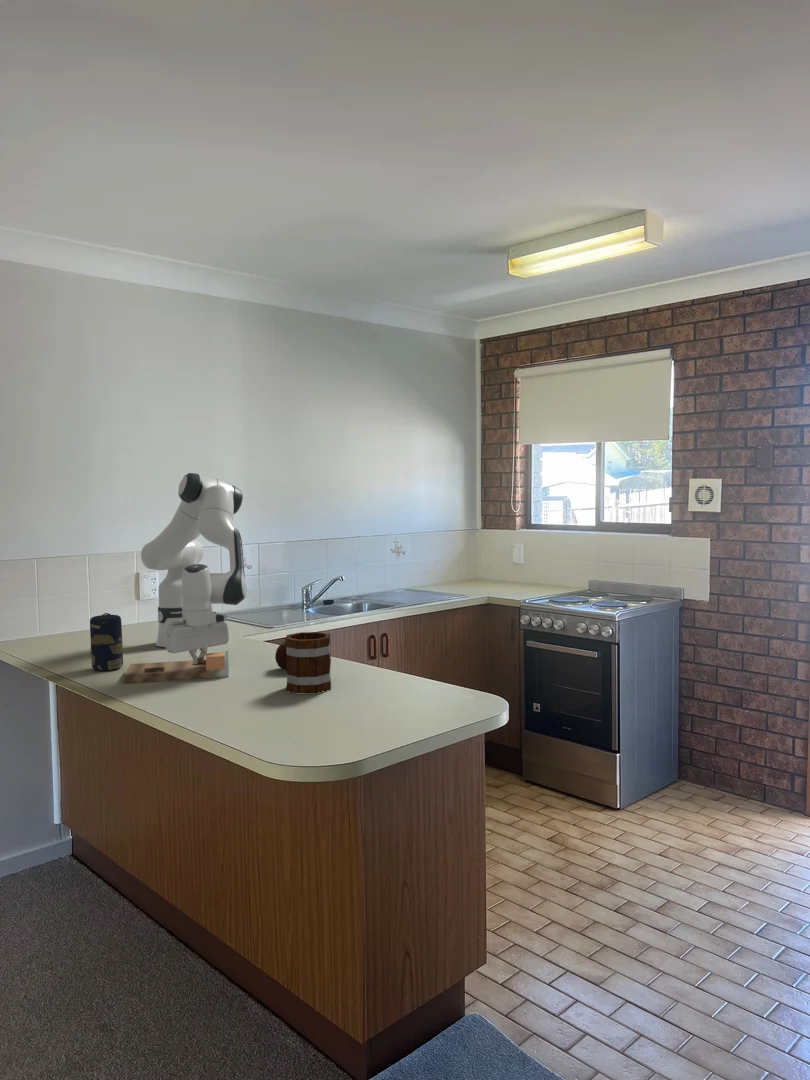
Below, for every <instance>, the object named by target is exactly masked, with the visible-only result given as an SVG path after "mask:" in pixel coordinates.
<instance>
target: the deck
mask: <svg viewBox="0 0 810 1080" xmlns="http://www.w3.org/2000/svg"><path fill="white" fill-rule="evenodd" d="M123 677H124V678H123V679H124V681H123V682H124V684H131V683H132V684H133V683H134V684H135V683H150V682H165V681H168V682H169V681H178V680H179V681H182V680H183V681H184V680H197V679H198V680H199V679H213V678H214V679H217V678H226V677H225V669H217V670H206V659H204V663H198V664H193V659H192V660H179V661H177V660H176V661H160V662H142V663H141V662H140V663H130V664H129V666H128V668H127V669H126V671H125V672H124V675H123Z"/></svg>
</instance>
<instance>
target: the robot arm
mask: <svg viewBox="0 0 810 1080" xmlns="http://www.w3.org/2000/svg"><path fill="white" fill-rule="evenodd" d="M177 493H178V497H179V498H180V500H181V502H180V503H179V506H178V507H177V510H176V511H175V513H174V516H173V517H172V519H171V520H170V522H169V524H168V525H166V527H165V528H164V529H163V530H162V531H161V532H160V533H159V534H158V535H157V536H156V537H155V538H154V539H153V540H151V541H149V542H147V543H146V544H144V546H143V547H142V549H141V550H140V551H141V552H140V559H141V562H142V563H143V566H144V567H146V569H149V570H154V571H166V570H167V574H166V575H165V577H164V579H163V580H162V581H161V582H160V583H159V585H158V606H157V621H158V628H157V629H158V632H157V638H156V642H155V646H156V647H161V648H165V649H166V651H167V652H168V653H170V654H179V653H183V652H189V653H188V654H189V655H190V657H192V660H193V664H198V663H204V660H205V658H206V653H208V648H211V647H218V646H222V645H223V646H224V645H227V644H228V642H229V637H230V635H229V634H230V633H229V626H228V623H227V622H226V621H227V617H228V616H227V615H226V614H223V613H219V612H216V611H213V606H212V605H214V604H215V605H217V604H219V605H220V604H222V605H223V604H224V605H231V606H232V605H233V606H237V605H239V604H240V603H241V602H242V601H243V600H245V599H246V596H247V593H248V591H247V590H248V589H247V581H246V576H245V564H244V563H245V562H244V549H243V540H242V535H241V533H240V530H239V529H237V528H236V527H235V526H234V523H233V520H234V515H235V514H236V513H238V511H239V510H240V508H241V506H242V504H243V499H244V497H243V492H242V490H241V489H240V488H239V487H237V486H235V485H230V484H229V483H228V482H224V481H222V480H219V479H217V478H212V477H209V476H205V475H200V474H199V473H194V472H189V473H187V474H185V475H184V476H183V477H182V479H181V480H180V482H179V484H178V492H177ZM200 535H201V536H202V537H203V538H204V539H205V540H207V542H208V541H209V542H210V543H212V544H215V545H218V546H220V547H222V548H225V549H227V550H228V551H229V555H228V556H229V568H230V569H229V571H228V572H223V573H222V572H221V573H220V572H215V573H214V572H213V573H212V572H210V568H209V566H208V565H207V564H201V563H200V562H201V561H202V560H203V558H204V548H203V545H202V543H201V542H200V541H199V540H197V538H198V537H199V536H200ZM198 650H199V655H198V656H197V653H198Z"/></svg>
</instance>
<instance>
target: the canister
mask: <svg viewBox="0 0 810 1080" xmlns="http://www.w3.org/2000/svg"><path fill="white" fill-rule="evenodd" d="M89 632H90V633H89V635H90V656H91V658H90V659H91V668H92V669H94V670H95V671H111V670H116V669H119V668H121V667H122V666H123V665H124V650H123V649H124V648H123V629H122V617H121V616H120V615H118V614H112V613H108V612H105V613H103V614H102V615H101V614H100V615H95V616H92V617H91V618H90V619H89Z"/></svg>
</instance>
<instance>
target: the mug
mask: <svg viewBox="0 0 810 1080" xmlns="http://www.w3.org/2000/svg"><path fill="white" fill-rule="evenodd" d="M331 636H332V634H331V633H326V632H321V631H313V632H312V631H308V632H307V631H305V632H304V631H302V632H301V631H300V632H296V633H290V634H287V635H286V636H285V638H284V642H286V670H285V671H286V688H285V690H287V691H286V692H288V691H290V692H289V693H292V692H294V693H293V694H295V693H318V692H321V693H323V692H322V691H325V692H328V691H327V690H329V691H331V689H332V686H331V685H332V679H331V665H332V657H331V644H332V643H331ZM318 694H319V693H318Z"/></svg>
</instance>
